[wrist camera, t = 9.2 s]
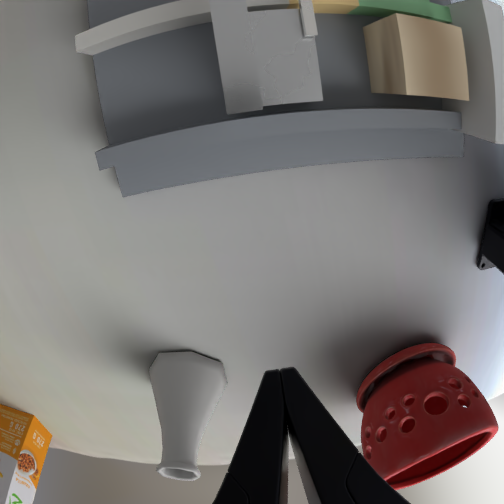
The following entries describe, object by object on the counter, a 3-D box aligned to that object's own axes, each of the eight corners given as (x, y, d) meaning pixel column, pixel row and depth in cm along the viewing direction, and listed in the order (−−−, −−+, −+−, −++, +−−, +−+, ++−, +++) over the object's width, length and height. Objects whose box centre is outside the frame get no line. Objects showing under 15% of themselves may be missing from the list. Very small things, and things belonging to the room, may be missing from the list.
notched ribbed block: (284, -51, 10) (305, -102, 5) (310, 100, 14) (348, 103, 9) (205, -44, 10) (193, -96, 5) (230, 109, 14) (227, 114, 9)
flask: (149, 341, 24) (123, 447, 15) (235, 355, 25) (237, 464, 16) (149, 389, 27) (133, 478, 18) (221, 400, 28) (221, 491, 19)
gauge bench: (433, -30, 10) (486, -50, 5) (455, 153, 17) (513, 179, 12) (92, -12, 11) (43, -40, 6) (127, 192, 18) (87, 234, 12)
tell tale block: (421, 34, 12) (461, 27, 9) (427, 95, 14) (469, 100, 11) (362, 27, 12) (395, 13, 9) (371, 92, 14) (406, 94, 11)
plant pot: (361, 338, 25) (409, 459, 14) (468, 323, 25) (524, 407, 15) (331, 416, 31) (352, 506, 20) (423, 398, 32) (455, 472, 21)
